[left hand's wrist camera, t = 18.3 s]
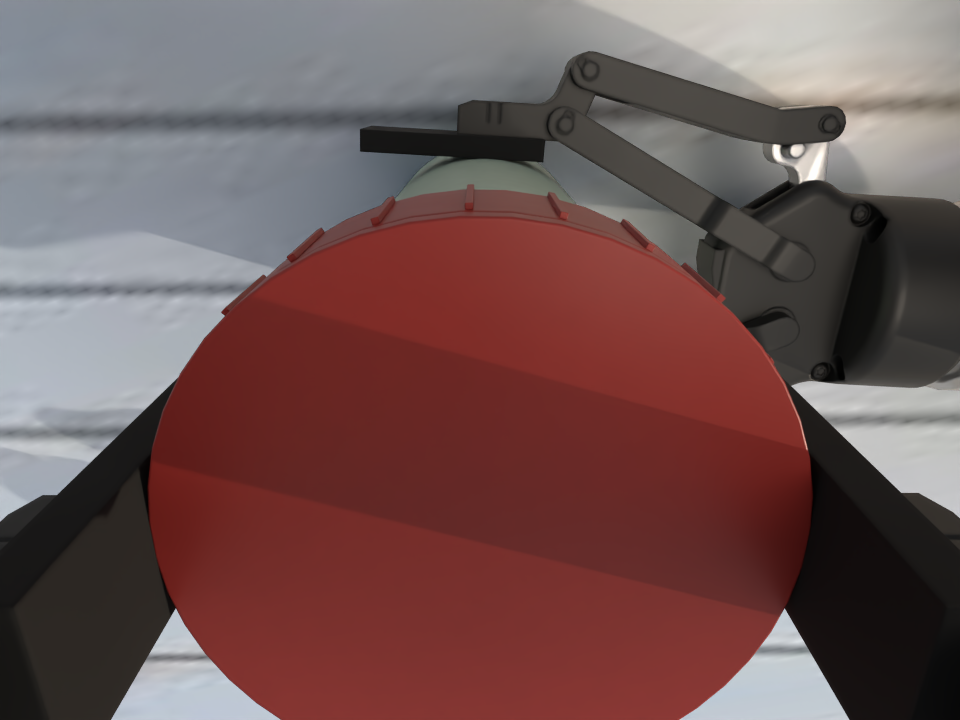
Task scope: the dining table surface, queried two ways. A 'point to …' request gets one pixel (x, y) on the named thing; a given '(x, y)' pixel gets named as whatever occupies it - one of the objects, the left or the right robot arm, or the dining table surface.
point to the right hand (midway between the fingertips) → (367, 264)
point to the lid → (480, 473)
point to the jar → (482, 177)
